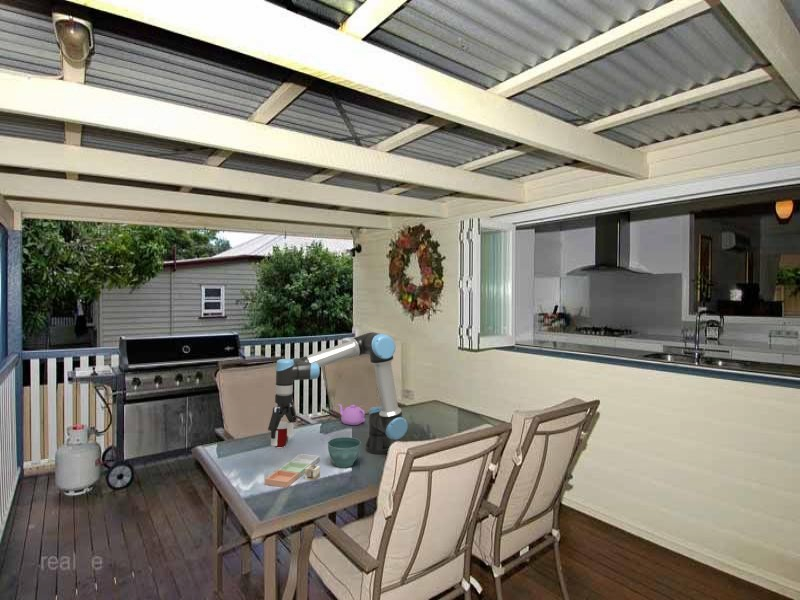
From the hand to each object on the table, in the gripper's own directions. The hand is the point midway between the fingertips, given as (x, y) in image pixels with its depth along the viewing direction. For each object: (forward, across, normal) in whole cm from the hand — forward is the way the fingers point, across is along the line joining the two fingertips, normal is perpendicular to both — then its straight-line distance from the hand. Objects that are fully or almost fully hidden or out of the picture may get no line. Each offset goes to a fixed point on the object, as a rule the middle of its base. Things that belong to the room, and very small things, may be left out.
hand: (282, 440), depth 204 cm
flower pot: (+16, -24, +20) cm, 35 cm away
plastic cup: (+16, -36, -22) cm, 46 cm away
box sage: (+16, -7, +3) cm, 18 cm away
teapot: (+16, -91, -3) cm, 92 cm away
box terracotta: (+16, +4, +3) cm, 17 cm away
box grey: (+16, -18, +2) cm, 25 cm away
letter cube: (+16, -4, +14) cm, 22 cm away
